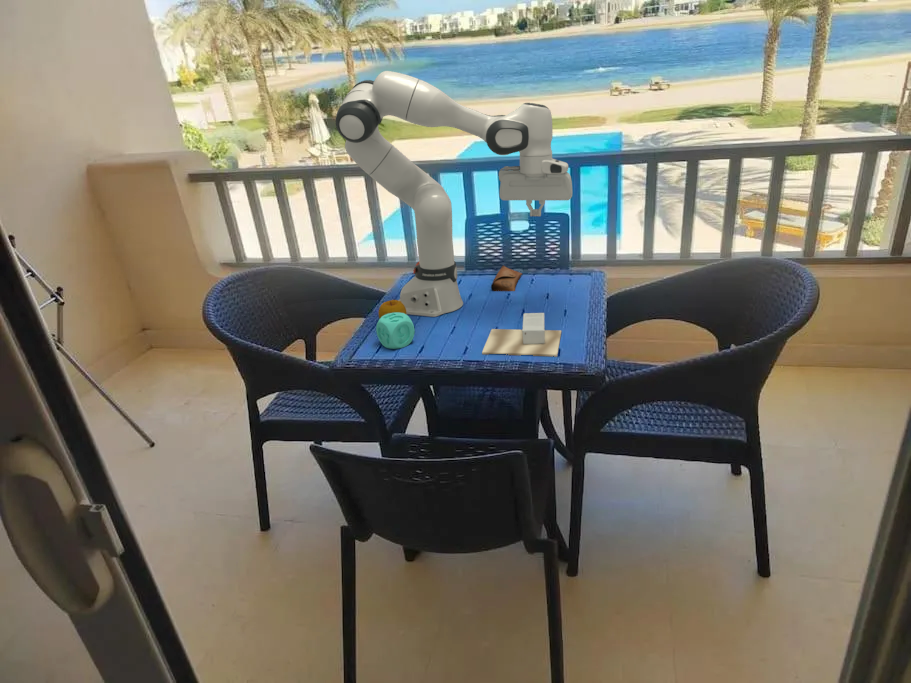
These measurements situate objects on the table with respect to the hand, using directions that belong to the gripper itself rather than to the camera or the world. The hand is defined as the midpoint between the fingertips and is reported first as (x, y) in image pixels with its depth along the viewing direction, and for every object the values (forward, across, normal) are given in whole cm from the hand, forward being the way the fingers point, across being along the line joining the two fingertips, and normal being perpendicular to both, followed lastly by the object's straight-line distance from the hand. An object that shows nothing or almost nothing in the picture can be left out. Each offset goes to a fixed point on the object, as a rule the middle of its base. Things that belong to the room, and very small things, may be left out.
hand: (535, 216), depth 174 cm
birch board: (+31, -1, -19) cm, 37 cm away
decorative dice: (+32, -37, -22) cm, 54 cm away
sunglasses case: (+30, -14, +28) cm, 43 cm away
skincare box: (+28, +1, -9) cm, 29 cm away
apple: (+32, -41, -12) cm, 53 cm away
